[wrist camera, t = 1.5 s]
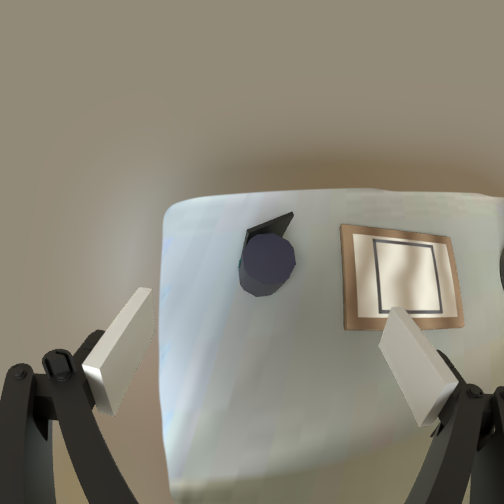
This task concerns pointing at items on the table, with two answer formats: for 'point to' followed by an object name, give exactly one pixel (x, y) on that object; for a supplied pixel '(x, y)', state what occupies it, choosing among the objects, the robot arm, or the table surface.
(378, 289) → the picture frame
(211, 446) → the table surface
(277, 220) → the speaker
